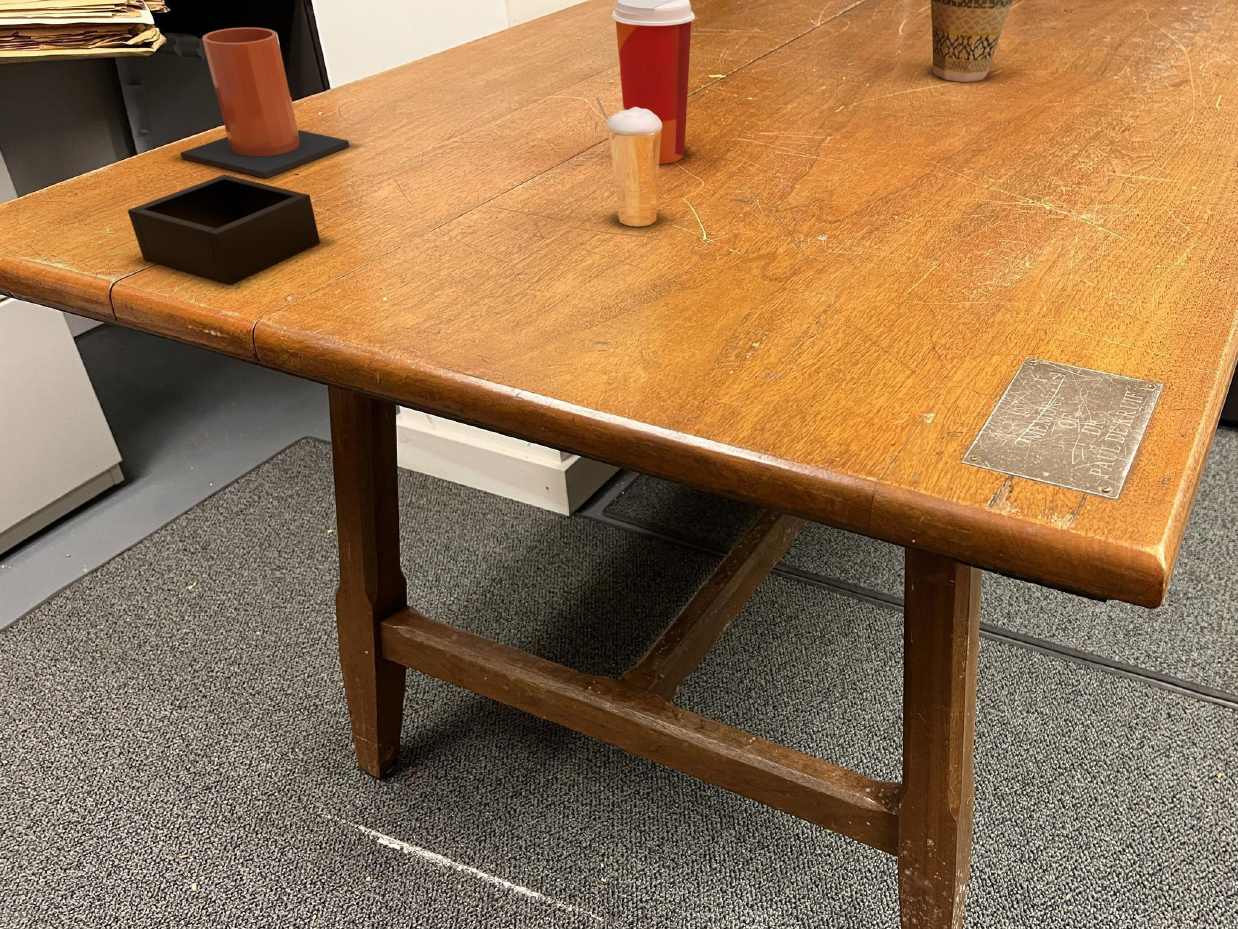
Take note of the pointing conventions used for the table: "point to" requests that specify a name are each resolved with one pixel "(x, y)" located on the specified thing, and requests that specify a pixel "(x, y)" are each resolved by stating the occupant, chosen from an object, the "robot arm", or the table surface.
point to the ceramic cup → (966, 36)
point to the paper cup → (656, 64)
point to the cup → (252, 91)
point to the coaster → (265, 166)
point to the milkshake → (635, 163)
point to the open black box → (225, 228)
